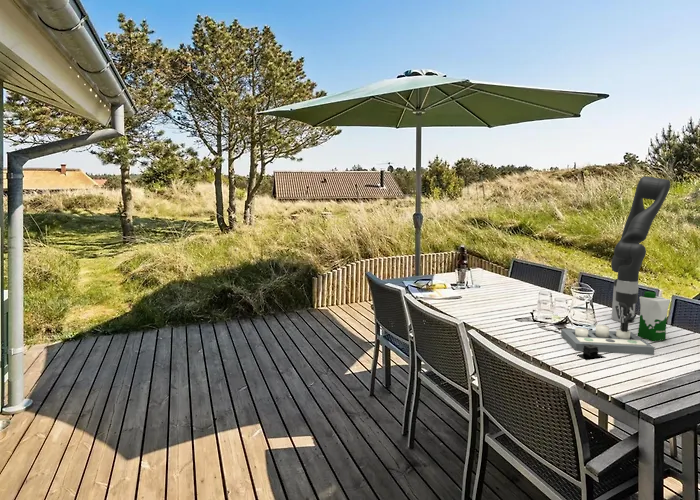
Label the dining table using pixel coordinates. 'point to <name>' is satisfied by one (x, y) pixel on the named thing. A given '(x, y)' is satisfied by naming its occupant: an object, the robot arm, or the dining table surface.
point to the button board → (613, 348)
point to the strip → (610, 341)
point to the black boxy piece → (590, 353)
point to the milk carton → (653, 317)
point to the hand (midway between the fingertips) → (624, 331)
